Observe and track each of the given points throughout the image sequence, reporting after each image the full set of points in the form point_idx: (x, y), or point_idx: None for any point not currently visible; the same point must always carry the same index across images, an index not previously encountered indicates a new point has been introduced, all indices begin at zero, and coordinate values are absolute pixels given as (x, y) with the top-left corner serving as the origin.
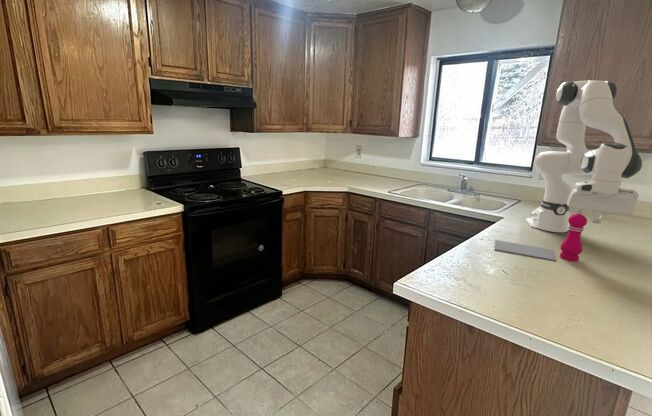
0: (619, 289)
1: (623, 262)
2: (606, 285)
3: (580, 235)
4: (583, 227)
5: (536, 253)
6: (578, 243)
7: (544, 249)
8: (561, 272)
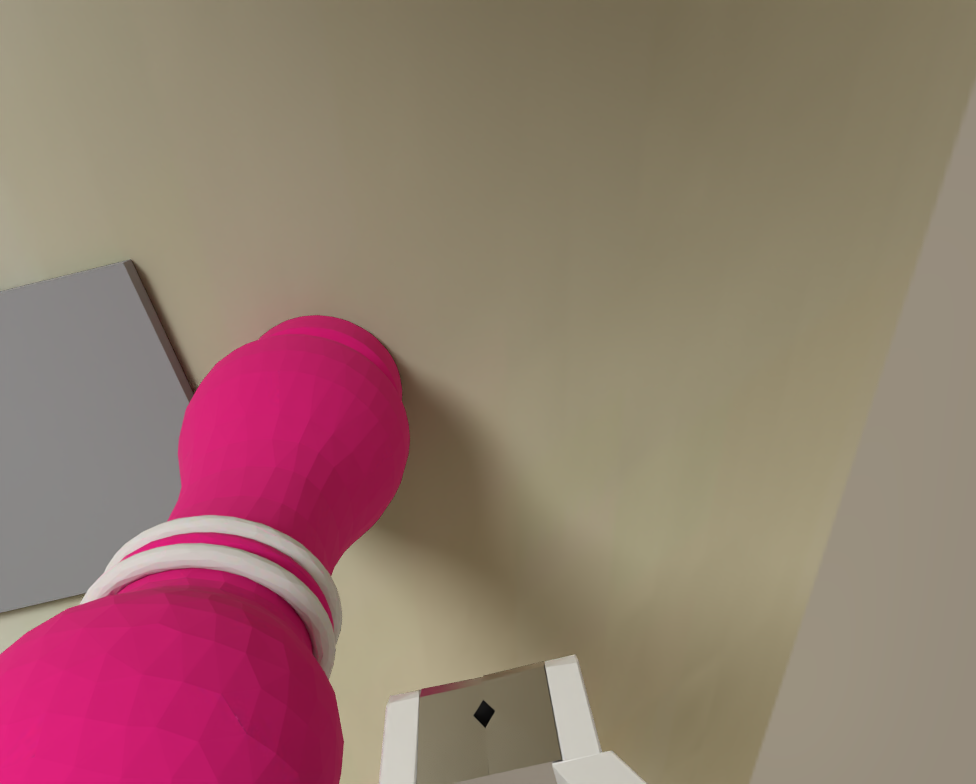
0: (655, 717)
1: (789, 79)
2: (594, 713)
3: (332, 563)
4: (318, 628)
5: (73, 518)
6: (353, 541)
7: (64, 335)
8: (350, 709)
